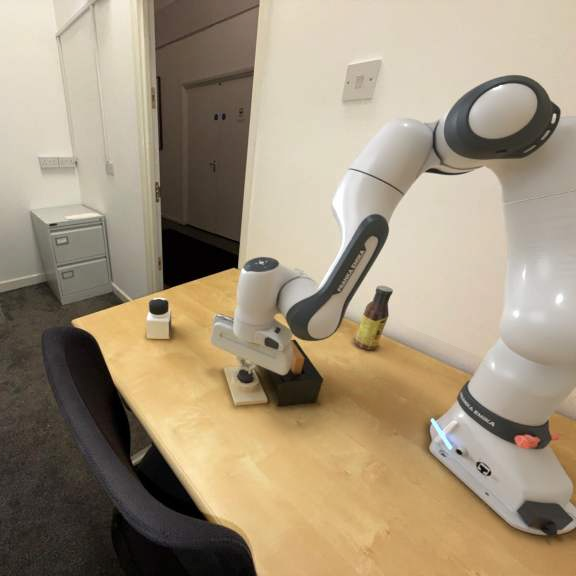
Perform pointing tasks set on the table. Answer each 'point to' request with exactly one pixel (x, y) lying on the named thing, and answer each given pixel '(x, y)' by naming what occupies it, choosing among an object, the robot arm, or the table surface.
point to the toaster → (294, 384)
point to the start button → (245, 377)
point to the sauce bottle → (374, 319)
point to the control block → (244, 388)
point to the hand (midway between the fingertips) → (246, 370)
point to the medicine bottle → (158, 319)
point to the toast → (296, 360)
